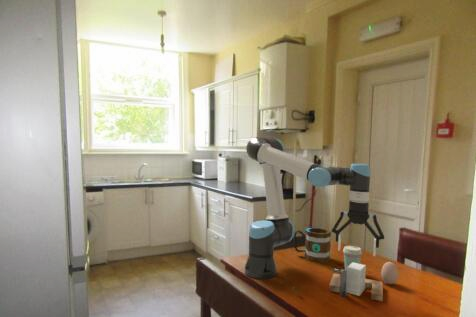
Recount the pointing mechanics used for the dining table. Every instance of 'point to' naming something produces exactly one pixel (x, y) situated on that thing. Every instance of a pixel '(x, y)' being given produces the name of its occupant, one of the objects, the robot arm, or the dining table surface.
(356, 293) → the small box
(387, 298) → the dining table surface
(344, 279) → the hook post
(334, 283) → the tan arch frame
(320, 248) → the mug
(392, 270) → the egg
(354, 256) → the coffee cup
